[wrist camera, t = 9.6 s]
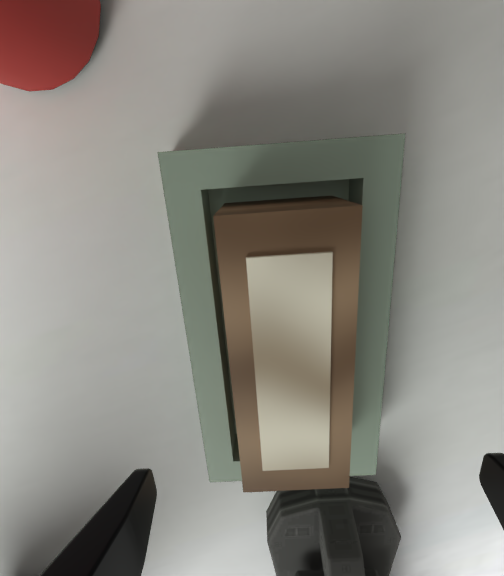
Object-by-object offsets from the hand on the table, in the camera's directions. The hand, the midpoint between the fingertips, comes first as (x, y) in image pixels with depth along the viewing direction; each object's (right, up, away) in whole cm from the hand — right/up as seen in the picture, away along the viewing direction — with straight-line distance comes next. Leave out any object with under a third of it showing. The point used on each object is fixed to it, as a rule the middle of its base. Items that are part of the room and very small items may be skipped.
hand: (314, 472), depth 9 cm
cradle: (0, +3, +9) cm, 10 cm away
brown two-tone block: (0, +3, +9) cm, 9 cm away
